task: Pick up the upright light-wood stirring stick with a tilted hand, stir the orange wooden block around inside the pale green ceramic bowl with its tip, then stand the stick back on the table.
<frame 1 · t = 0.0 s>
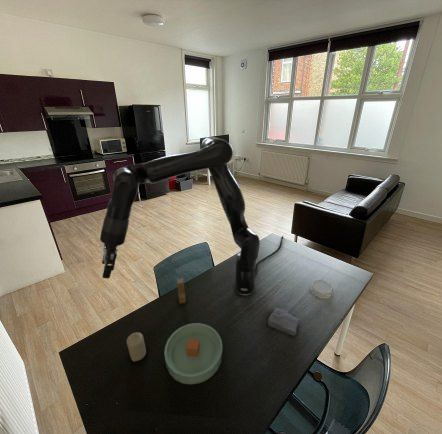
hand: (105, 270, 82), 31 cm above the table, tool tilted 20°, fingers open, 8 cm apart
coaster: (320, 292, 117), on the table
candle: (138, 355, 88), on the table
stirrer: (182, 300, 112), on the table
bowl: (194, 355, 87), on the table
stone block: (283, 323, 101), on the table
block: (193, 351, 88), point 1 cm above the table, touching bowl
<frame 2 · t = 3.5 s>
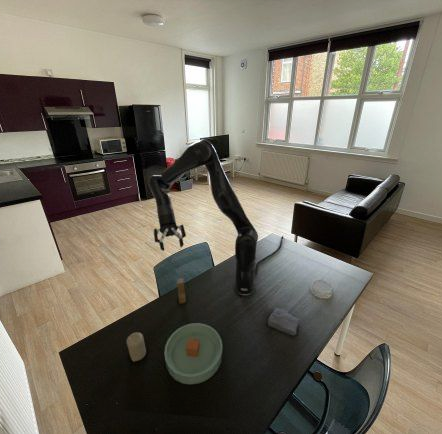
hand: (172, 248, 110), 23 cm above the table, tool tilted 40°, fingers open, 8 cm apart
nothing on the table moved.
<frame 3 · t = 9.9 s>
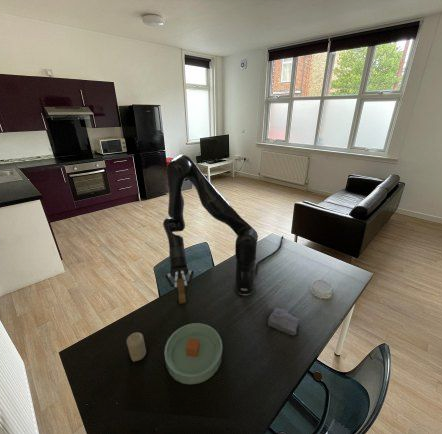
hand: (181, 295, 107), 5 cm above the table, tool tilted 45°, fingers closed on stirrer, 3 cm apart
stirrer: (182, 300, 112), on the table, touching gripper
everything else where it was.
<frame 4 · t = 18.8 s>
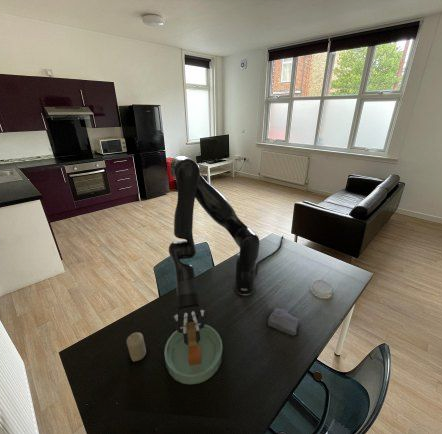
hand: (192, 343, 84), 7 cm above the table, tool tilted 45°, fingers closed on stirrer, 3 cm apart
stirrer: (192, 348, 88), point 2 cm above the table, touching gripper
block: (195, 359, 85), point 1 cm above the table
everything else where it was.
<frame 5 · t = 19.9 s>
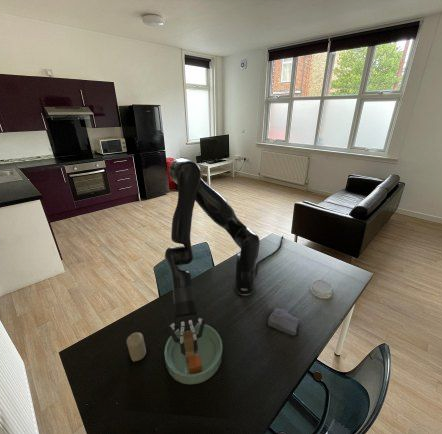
hand: (189, 353, 81), 7 cm above the table, tool tilted 45°, fingers closed on stirrer, 3 cm apart
stirrer: (190, 358, 85), point 2 cm above the table, touching gripper
block: (195, 368, 82), point 1 cm above the table
everything else where it was.
when the fingers open (5 cm above the table, at t = 30.9 s): stirrer stays where it is, on the table.
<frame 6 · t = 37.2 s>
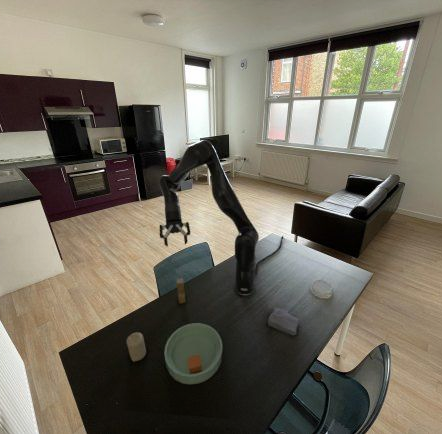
hand: (176, 245, 111), 24 cm above the table, tool tilted 45°, fingers open, 8 cm apart
stirrer: (182, 300, 112), on the table
block: (195, 368, 82), point 1 cm above the table, touching bowl
everything else where it was.
at the end: block moved 6.6 cm from its start; block inside the target area in the bowl (5.2 cm from its centre), point 0.8 cm above the bowl's base; stirrer tilted 0° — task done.
